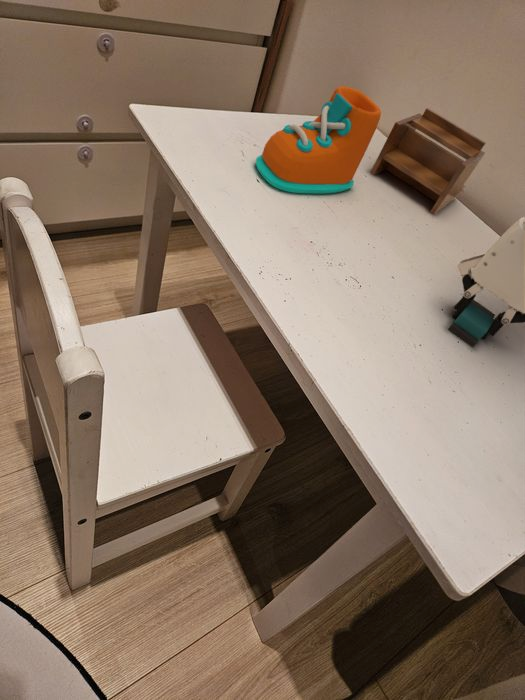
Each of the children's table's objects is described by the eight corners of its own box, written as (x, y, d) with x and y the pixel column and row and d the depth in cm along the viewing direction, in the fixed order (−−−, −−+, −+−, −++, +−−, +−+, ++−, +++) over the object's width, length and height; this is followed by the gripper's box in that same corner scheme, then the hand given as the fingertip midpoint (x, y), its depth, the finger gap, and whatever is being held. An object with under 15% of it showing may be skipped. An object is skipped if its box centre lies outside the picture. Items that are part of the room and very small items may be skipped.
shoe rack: (453, 200, 101) (490, 145, 92) (432, 215, 93) (471, 158, 84) (393, 161, 105) (423, 105, 95) (369, 173, 97) (399, 114, 88)
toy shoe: (244, 158, 86) (268, 72, 75) (327, 160, 95) (359, 84, 84) (273, 197, 80) (304, 111, 69) (359, 195, 89) (397, 119, 78)
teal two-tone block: (467, 303, 76) (479, 290, 74) (490, 319, 75) (503, 307, 73) (446, 330, 70) (458, 317, 68) (471, 348, 69) (484, 335, 67)
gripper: (621, 257, 60) (523, 346, 73) (507, 187, 64) (434, 283, 77) (615, 279, 55) (510, 370, 68) (492, 202, 59) (416, 302, 72)
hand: (471, 323), depth 72 cm, fingers closed on teal two-tone block, 4 cm apart
